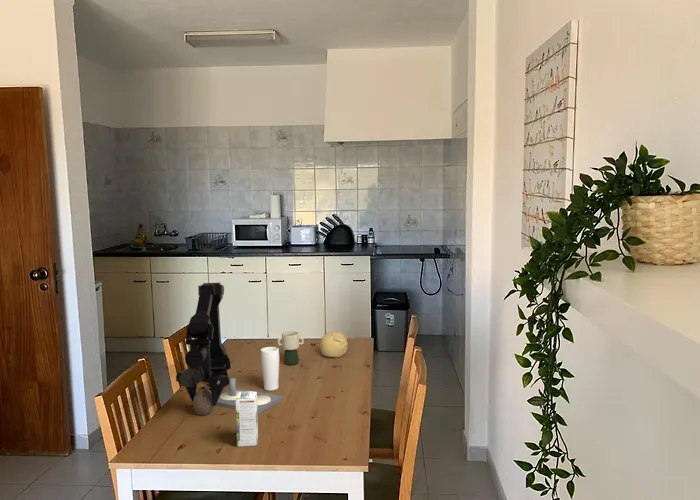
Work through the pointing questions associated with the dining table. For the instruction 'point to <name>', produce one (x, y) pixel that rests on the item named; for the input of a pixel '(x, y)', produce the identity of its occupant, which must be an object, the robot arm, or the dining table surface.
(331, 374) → the dining table surface
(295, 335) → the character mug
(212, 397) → the robot arm
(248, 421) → the syrup box
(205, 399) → the vase
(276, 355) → the white tapered cylinder
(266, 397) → the board
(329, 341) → the sculpture
